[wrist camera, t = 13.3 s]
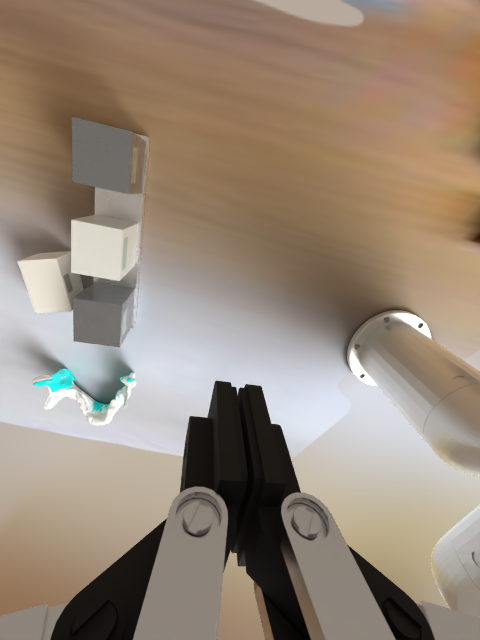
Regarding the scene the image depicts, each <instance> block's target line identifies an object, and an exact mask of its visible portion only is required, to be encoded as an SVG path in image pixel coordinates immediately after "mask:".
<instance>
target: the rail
mask: <svg viewBox="0 0 480 640" xmlns="http://www.w3.org/2000/svg"><path fill="white" fill-rule="evenodd" d="M149 148H150V138H149V137H147V136H143V135H139V134H135V133H134V132H132V131H129V130H125V129H120V128H116V127H112V126H108V125H104V124H100V123H96V122H92V121H88V120H84V119H80V118H76V117H72V182H74V183H78V184H83V185H88V186H92V187H95V213H94V215H95V214H97V215H102V216H107V217H111V218H116V219H121V220H126V221H131V222H135V223H138V230H137V242H136V254H135V266H134V267H133V268H132V269H131V270H130V271H129V272H128V273H127V274H126V275H125V276H124V277H123V278H122V279H121V280H120V281H116V280H110V279H105V278H99V277H93V283H92V284H91V285H89V286H88V287H87V288H86V289H84V290H83V291H82V292H81V293H79V294H78V295H77V296H75V297H74V298H73V321H74V341H77V342H84V343H92V344H100V345H107V346H115V347H120V346H121V344H122V342H123V340H124V339H125V337H126V335H127V334H128V332H129V330H130V328H134V326H135V324H136V313H137V300H138V288H139V275H140V262H141V249H142V237H143V224H144V211H145V199H146V186H147V173H148V160H149Z"/></svg>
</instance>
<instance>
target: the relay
mask: <svg viewBox="0 0 480 640" xmlns="http://www.w3.org/2000/svg"><path fill="white" fill-rule="evenodd" d="M17 262H18V265H19V268H20V270H21V273H22V276H23V279H24V282H25V285H26V288H27V290H28V293H29V296H30V299H31V302H32V305H33V308H34V310H35V313H47V312H61V311H72V310H73V298H74V297H75V296H77V295H78V294H79V293H81V292H82V291H83V290H84V287H83V284H82V280H81V276H80V274H76V273H71V251H64V252H48V253H38V254H35V255H32V256H30V257H27V258H24V259H21V260H19V261H17Z"/></svg>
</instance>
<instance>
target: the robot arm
mask: <svg viewBox="0 0 480 640" xmlns="http://www.w3.org/2000/svg"><path fill="white" fill-rule="evenodd" d="M347 361H348V365H349V367H350V369H351V371H352V372H353V374H354V375H355V376H356V377H357V378H358V379H359V380H360V381H362V382H364V383H366V384H369V385H374V386H378V387H379V388H380V390H381V391H382V392H383V393H384V394H385V395H386V397H387V398H388V399H389V400H390V401H391V403H392V404H393V405H394V406H395V407H396V408H397V409H398V411H399V412H400V413H401V414H402V415H403V416H404V418H405V419H406V420H407V421H408V422H409V424H410V425H411V426H412V427H413V428H414V429H415V431H416V432H417V433H418V434H419V435H420V436H421V437H422V439H423V440H424V441H425V442H426V443H427V445H428V446H429V447H430V448H431V449H432V450H433V451H434V453H435V454H436V455H437V456H438V457H439V458H440V459H441V460H443V461H444V462H445V463H447V464H448V465H450V466H451V467H453V468H455V469H457V470H459V471H461V472H464V473H466V474H469V475H473V476H476V477H479V478H480V371H478V370H477V369H475V368H474V367H472V366H471V365H469V364H468V363H466V362H465V361H463V360H462V359H460V358H459V357H457V356H456V355H454V354H453V353H451V352H450V351H448V350H447V349H445V348H444V347H443V346H441V345H440V344H438V343H437V342H435V341H434V340H432V339H431V333H430V330H429V328H428V326H427V324H426V323H425V322H424V321H423V320H422V319H421V318H420V317H418V316H417V315H415V314H413V313H410V312H408V311H402V310H392V311H387V312H383V313H381V314H378V315H376V316H374V317H372V318H370V319H369V320H367V321H366V322H365V323H364V324H362V325H361V326H360V328H359V329H358V330H357V331H356V332H355V334H354V335H353V337H352V339H351V341H350V343H349V346H348V350H347ZM230 550H231V552H232V553H237V561H238V566H246V572H247V574H248V575H249V576H250V577H251V578H252V579H253V580H254V591H255V597H256V601H257V605H258V610H259V614H260V619H261V623H262V627H263V632H264V636H265V640H480V505H479V506H477V507H476V508H475V509H474V510H472V511H471V512H470V513H469V514H468V515H467V516H465V517H464V518H463V519H462V520H461V521H459V522H458V523H457V524H456V525H455V526H454V527H452V528H451V529H450V530H449V531H448V532H447V533H446V534H445V535H444V536H443V537H442V538H441V539H440V540H439V541H438V542H437V544H436V545H435V547H434V549H433V552H432V555H431V568H432V573H433V577H434V580H435V582H436V585H437V587H438V589H439V591H440V593H441V595H442V597H443V599H444V601H445V602H446V604H447V606H448V607H449V609H448V608H445V607H441V606H438V605H434V604H431V603H428V602H424V601H421V602H420V604H416V603H415V602H414V601H413V600H412V599H411V598H410V597H409V596H408V595H407V594H406V593H405V592H403V591H402V590H401V589H400V588H399V587H397V586H396V585H395V584H394V583H393V582H391V581H390V580H389V579H388V578H387V577H385V576H384V575H383V574H382V573H381V572H379V571H378V570H377V569H376V568H375V567H373V566H372V565H371V564H370V563H369V562H367V561H366V560H365V559H364V558H363V557H361V556H360V555H359V554H358V553H357V552H355V551H354V550H353V549H352V548H351V547H349V546H348V545H347V544H346V542H345V540H344V538H343V536H342V534H341V532H340V530H339V528H338V526H337V524H336V522H335V520H334V518H333V516H332V514H331V513H330V511H329V510H328V508H327V507H326V506H325V505H324V504H323V503H322V502H321V501H320V500H318V499H317V498H315V497H313V496H312V495H309V494H306V493H301V491H300V488H299V485H298V481H297V478H296V475H295V472H294V468H293V465H292V461H291V458H290V455H289V451H288V448H287V445H286V441H285V438H284V435H283V432H282V429H281V426H280V425H277V424H271V421H270V417H269V413H268V410H267V406H266V402H265V398H264V394H263V391H262V387H261V386H256V385H248V384H246V385H245V387H244V388H240V389H239V392H238V396H237V390H236V387H231V383H230V382H222V381H215V385H214V389H213V394H212V399H211V404H210V409H209V413H208V418H204V417H194V416H190V418H189V423H188V429H187V435H186V441H185V449H184V457H183V468H182V477H181V488H180V493H179V495H178V496H177V497H176V498H175V499H174V500H173V503H172V505H171V507H170V510H169V514H168V517H167V519H166V520H165V521H163V522H162V523H161V524H160V525H158V526H157V527H156V528H155V529H154V530H153V531H151V532H150V533H149V534H148V535H147V536H145V537H144V538H143V539H142V540H141V541H140V542H138V543H137V544H136V545H135V546H134V547H133V548H131V549H130V550H129V551H128V552H127V553H125V554H124V555H123V556H122V557H121V558H120V559H118V560H117V561H116V562H115V563H114V564H112V565H111V566H110V567H109V568H108V569H107V570H105V571H104V572H103V573H102V574H101V575H99V576H98V577H97V578H96V579H95V580H94V581H92V582H91V583H90V584H89V585H87V586H86V587H85V588H84V589H83V590H82V591H80V592H79V593H78V594H77V595H76V596H75V597H74V598H73V599H72V600H71V601H70V602H68V603H64V604H61V605H57V606H53V607H49V608H48V604H44V605H40V606H36V607H32V608H28V609H25V610H21V611H17V612H14V613H10V614H6V615H2V616H0V640H217V636H218V623H219V613H220V602H221V591H222V580H223V572H224V569H225V566H226V562H227V560H228V556H229V553H230Z"/></svg>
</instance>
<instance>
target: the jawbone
mask: <svg viewBox="0 0 480 640" xmlns="http://www.w3.org/2000/svg"><path fill="white" fill-rule="evenodd" d="M73 380H75V377H74V376H73V375H72V372H71V371H69V370H68V369H60V370H59V371H58V372H56V373H55V374H52V375H43V376H40V377H37V378H35V379H34V380H33V381H32V383H34V384H33V385H34V386H44V385H46V386H47V387H48V388H49V396H48V397H47V398H46V401H45V403H44V405H43V408H44V409H51V408H53V407H54V406H55V405H56V404H57V402H58V401H59V400H60V399H62V398H63V397H70V398H72V399H74V400H76V401H77V403H78V404H79V407H80V408H81V409H82V412H83V413H84V414H85V416H86V417H87V422H88V423H91V424H93V425H104V424H105V425H106V424H108V423H109V422H110V421H111V420H112V418H113V415H114V413H116V412H117V410H118V408H119V407H120V406H121V405H122V404H123V403H124V408H126V407H127V401H128V398H129V397H130V395H131V388H132V387H134V386H135V385H136V380H135V373H134V372H131V373H130V375H129V376H124V377H121V378H120V381H121V382H123V383H124V384H125V385H126V386H124V387H123V388H122V389H120V390H119V391H118V392H117V394H116V395H115V399H113V400H111V402H110V404H103V403H99V402H97V401H96V400H94V399H93V398H91V397H90V396H89V395H87V394H86V393H85V392H83V391H82V390H80V389H79V388H78V387H77V386H76V385H75V384H74V382H73Z"/></svg>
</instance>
